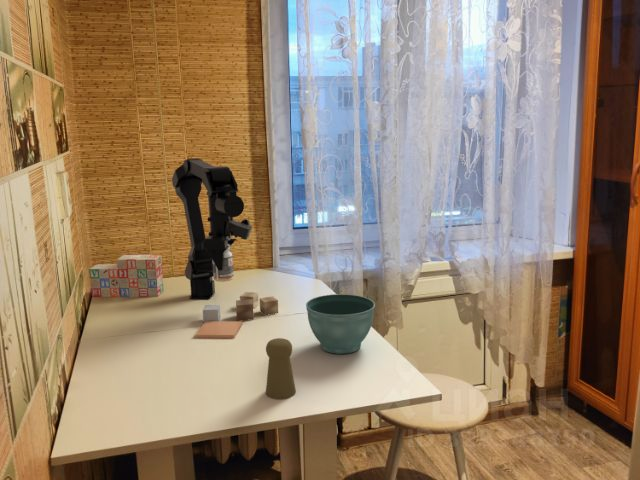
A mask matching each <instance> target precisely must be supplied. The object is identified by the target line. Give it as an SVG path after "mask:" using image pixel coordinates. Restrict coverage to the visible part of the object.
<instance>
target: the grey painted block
mask: <svg viewBox="0 0 640 480" xmlns="http://www.w3.org/2000/svg"><path fill="white" fill-rule="evenodd" d="M220 318H221V305H220V304H205V305H204V307H203V308H202V322H203V323H205V322H206V321H221V319H220Z"/></svg>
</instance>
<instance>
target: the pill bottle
mask: <svg viewBox="0 0 640 480" xmlns="http://www.w3.org/2000/svg"><path fill="white" fill-rule="evenodd" d="M227 246H229V247H228V248H227V249H226V251H225V252H224V260H223V269H222V270H218V269H217V267H216V265H215V263H214V261H213V260H212V263H213V280H214V282H223V283H224V282H229V281H232V280H234V278H235V271H234V262H233V261H234V259H233V253H232V252H231V248H230V245H229V244H228V245H227ZM229 250H230V251H229Z"/></svg>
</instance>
